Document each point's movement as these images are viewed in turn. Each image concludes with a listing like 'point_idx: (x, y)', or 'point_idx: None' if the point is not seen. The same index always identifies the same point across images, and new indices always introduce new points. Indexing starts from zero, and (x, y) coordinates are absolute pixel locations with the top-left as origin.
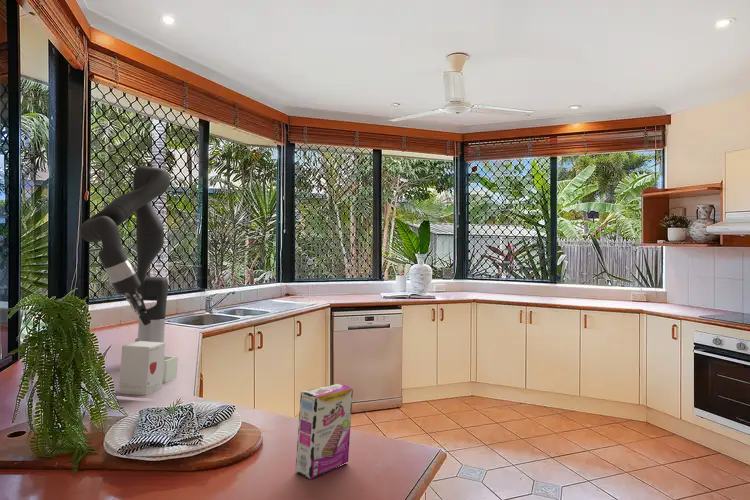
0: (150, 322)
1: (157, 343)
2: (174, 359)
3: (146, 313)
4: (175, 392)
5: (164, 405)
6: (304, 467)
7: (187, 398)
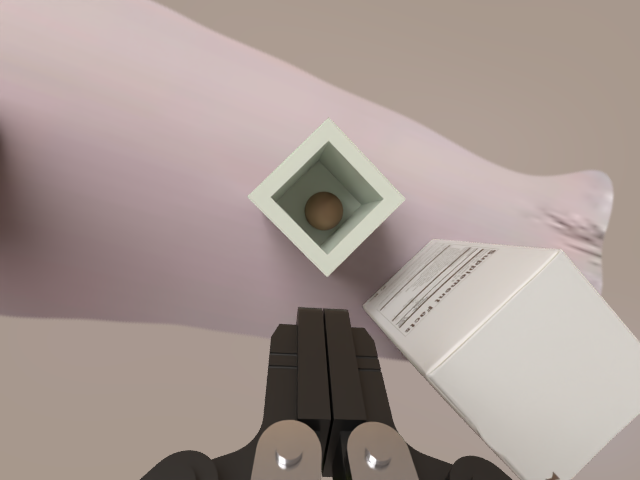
0: (347, 311)
1: (578, 303)
2: (351, 144)
3: (363, 409)
4: (480, 207)
5: (597, 283)
6: None
7: (566, 199)
